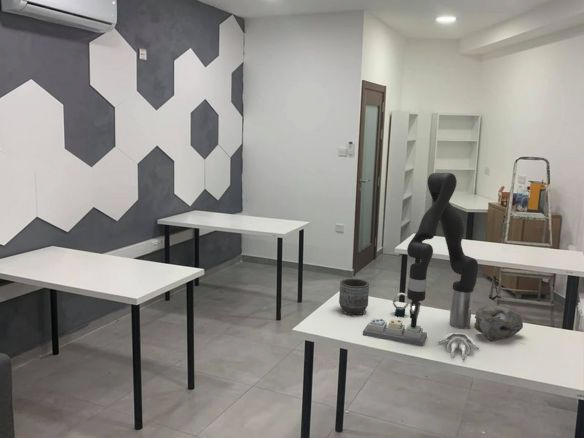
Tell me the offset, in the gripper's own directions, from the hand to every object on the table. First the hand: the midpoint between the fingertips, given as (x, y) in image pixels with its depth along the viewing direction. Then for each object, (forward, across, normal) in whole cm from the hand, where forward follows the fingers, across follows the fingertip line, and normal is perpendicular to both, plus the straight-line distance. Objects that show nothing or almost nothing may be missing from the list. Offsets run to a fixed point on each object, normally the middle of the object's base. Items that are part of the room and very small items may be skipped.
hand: (413, 326), depth 223 cm
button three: (+4, 0, +16) cm, 16 cm away
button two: (+3, 0, +8) cm, 8 cm away
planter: (+6, +21, +33) cm, 39 cm away
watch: (+6, +27, +11) cm, 30 cm away
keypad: (+6, 0, +8) cm, 10 cm away
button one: (+4, 0, 0) cm, 4 cm away
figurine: (+6, -1, -19) cm, 20 cm away
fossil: (+6, +20, -33) cm, 39 cm away
